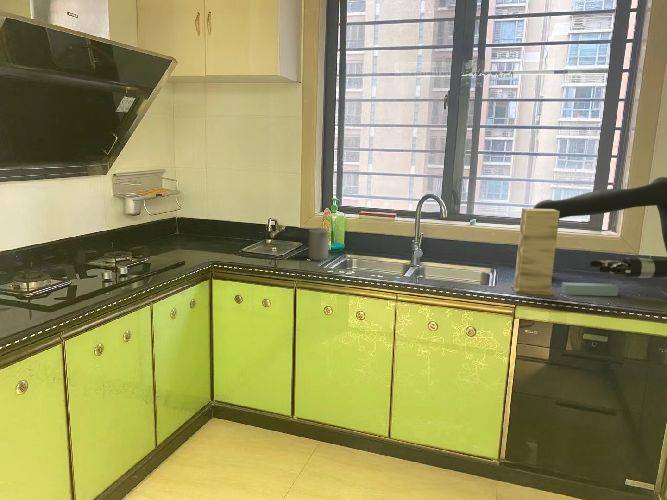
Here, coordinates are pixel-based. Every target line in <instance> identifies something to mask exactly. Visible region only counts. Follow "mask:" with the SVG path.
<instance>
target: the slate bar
mask: <svg viewBox="0 0 667 500" xmlns="http://www.w3.org/2000/svg"><path fill="white" fill-rule="evenodd" d="M560 292H561V293H562V294H563V295H567V296H568V295H573V296H577V295H578V296H603V297H604V296H605V297H606V296H607V297H608V296H609V297H611V296H612V297H618V293H619V286H618V285H616V284H614V283H599V282H598V283H595V282H593V283H591V282H564V281H563V282H562V281H561V286H560Z"/></svg>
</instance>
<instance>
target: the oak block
mask: <svg viewBox="0 0 667 500" xmlns="http://www.w3.org/2000/svg"><path fill="white" fill-rule="evenodd" d="M559 213H560V211H557V210H555V209H533V208H530V207H529V208H528V207H527V208H526V207H525V208H523V207H522V208H521V216H520V223H519V224H520V226H519V232H518V233H519V235H518V245H517V246H518V247H517V252H518V253H517V252H516V261H517V263H515V272H516V273H514V280H515V283H514V282H513V285H512V284H511V285H510V289H511V290H512V291H513V290H514V291H515V292H516V293H519V294H518V295H520V294H521V295H540V294H541V295H543V296H544V295H545V296H548V295H549V296H554V294H555V292H554V291H552V290H551V289H552V280H553V271H554V263H555V254H556V247H557V246H556V245H557V236H558V231H559V225H558V221H559V222H560V219H559ZM514 291H513V292H514ZM515 292H514V293H515ZM516 293H515V294H516Z"/></svg>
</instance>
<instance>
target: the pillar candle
mask: <svg viewBox="0 0 667 500" xmlns="http://www.w3.org/2000/svg"><path fill="white" fill-rule="evenodd" d="M329 232H330V230H329V229H327V228H320V227H318V228H316V227H315V228H309V229H308V243H307V244H308V251H307V252H308V253H307V255H308V256H307V258H308V260H309V259H310V260H312V259H313V260H312V261H323V260H324V261H325V260H328V259H329V239H330V238H329V234H330V233H329Z"/></svg>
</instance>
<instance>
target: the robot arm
mask: <svg viewBox="0 0 667 500" xmlns="http://www.w3.org/2000/svg"><path fill="white" fill-rule="evenodd" d="M652 206H656V207H657V211H658V215H659V218H660V227H661V235H662V240H663V245H664V249H665V251H666V253H667V177H666V176H661V177H657V178H655V179H653V181H651V183H649V184H648V183H647V184H646V185H642V186H637V187H632V188H606V189H600V190H599V189H598V190H594V191H590V192H585V193H583V194H579V195H576V196H571V197H568V198H564V199H556V200H553V199H544V200H541V201H539V202H537V203H536V204H535V205H534V207H533V208H532V209H555V210H557V211H560V213H559V221H558V226H559V224H560V219H564V218H568V217H582V216H593V215H600V214H607V213H612V212H617V211H623V210H627V209H632V208H637V207H639V208H641V207H652ZM589 267H590V268H591V267H593V268H598V272H600V273H610V274H614V275H622V276H623V277H625V278H636V279H637V278H638V279H646V278H655V279H661V278H665V277H667V259H666V258H665V259H655V258H654V259H653V258H646V257H645V258H644V257H625V258H623V259H622V261H621V262H620V261H619V260H615V259H601V258H600V259H599V260H590V261H589Z"/></svg>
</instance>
